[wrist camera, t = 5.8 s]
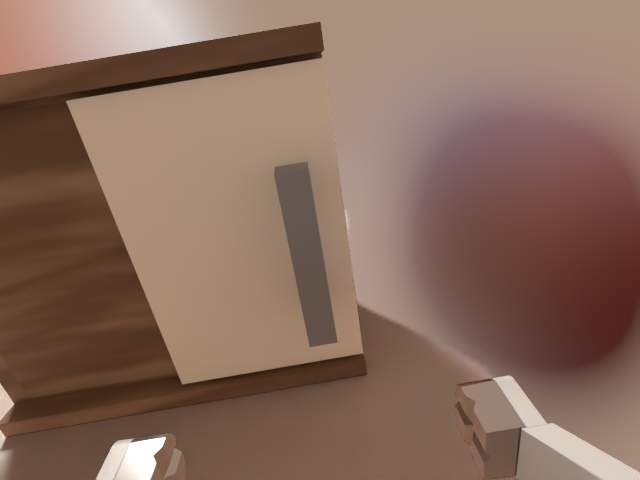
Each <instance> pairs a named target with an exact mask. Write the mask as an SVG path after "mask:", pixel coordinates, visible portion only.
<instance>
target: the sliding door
mask: <svg viewBox="0 0 640 480" xmlns="http://www.w3.org/2000/svg"><path fill="white" fill-rule="evenodd" d="M66 102H67V105H68V107H69V110H70V112H71V114H72V117H73V119H74V122H75V124H76V127H77V129H78V131H79V134H80V136H81V139H82V141H83V144H84V146H85V149H86V151H87V153H88V156H89V158H90V161H91V163H92V166H93V168H94V171H95V173H96V175H97V178H98V180H99V183H100V185H101V188H102V190H103V192H104V195H105V197H106V200H107V202H108V205H109V207H110V210H111V212H112V214H113V217H114V219H115V222H116V224H117V227H118V229H119V231H120V234H121V236H122V239H123V241H124V244H125V246H126V249H127V251H128V253H129V256H130V258H131V261H132V263H133V266H134V268H135V271H136V273H137V275H138V278H139V280H140V283H141V285H142V288H143V290H144V292H145V295H146V297H147V300H148V302H149V305H150V307H151V310H152V312H153V314H154V317H155V319H156V322H157V324H158V327H159V329H160V332H161V334H162V336H163V339H164V341H165V344H166V346H167V349H168V351H169V353H170V356H171V358H172V361H173V363H174V366H175V368H176V371H177V373H178V375H179V378H180V380H181V383H182V384H188V383H194V382H199V381H205V380H211V379H217V378H223V377H229V376H234V375H240V374H246V373H252V372H258V371H263V370H269V369H275V368H281V367H287V366H292V365H298V364H304V363H310V362H316V361H321V360H327V359H333V358H339V357H345V356H350V355H356V354H362V353H363V346H362V339H361V331H360V324H359V316H358V309H357V301H356V294H355V286H354V280H353V272H352V264H351V257H350V249H349V241H348V234H347V226H346V219H345V211H344V204H343V196H342V189H341V182H340V174H339V166H338V159H337V151H336V143H335V136H334V129H333V121H332V113H331V106H330V99H329V91H328V83H327V76H326V69H325V62H324V58H319V59H313V60H307V61H301V62H295V63H289V64H283V65H277V66H271V67H265V68H259V69H253V70H247V71H241V72H235V73H229V74H223V75H217V76H211V77H205V78H199V79H193V80H187V81H182V82H176V83H170V84H164V85H158V86H152V87H146V88H140V89H134V90H128V91H122V92H116V93H110V94H104V95H98V96H92V97H86V98H80V99H74V100H68V101H66Z"/></svg>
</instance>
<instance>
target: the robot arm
mask: <svg viewBox="0 0 640 480" xmlns="http://www.w3.org/2000/svg"><path fill="white" fill-rule="evenodd" d="M455 395H456V397H457V399H458V401H459V402H458V403H457V404H456V405H455V413H456V419H457V423H458V427H459V429H460V432H461V434H462V437H463V439H464V441H465V442H466V443H468V444H469V445H471V446H472V458H473V460H474V462H475V464H476V466H477V468H478V470H479V472H480V474H481V476H482V478H483V480H491V479H498V478H505V477H512V476H516V478H517V479H518V480H640V472H638V471H636V470H635V469H633V468H631V467H629V466H628V465H626V464H624V463H622V462H621V461H619V460H617V459H615V458H613V457H612V456H610V455H608V454H607V453H605V452H603V451H601V450H599V449H598V448H596V447H594V446H592V445H591V444H589V443H587V442H586V441H583V440H582V439H580V438H579V437H576V436H575V435H573V434H572V433H570V432H568V431H566V430H565V429H563V428H561V427H559V426H558V425H556V424H554V423H549V424H547V422H546V421H545V420H544V418H543V417H542V416H541V414H540V413H539V412H538V410H537V409H536V408H535V406H534V405H533V404H532V402H531V401H530V400H529V398H528V397H527V396H526V394H525V393H524V392H523V390H522V389H521V388H520V386H519V385H518V384H517V382H516V381H515V380H514V378H513V377H511V376H503V377H497V378H492V379H490V378H489V379H484V380H478V381H473V382H467V383H462V384H457V385H456V388H455ZM176 442H177V440H176V438H175V436H174V434H173V433H166V434H159V435H152V436H145V437H137V438H132V439H125V440H118V441H117V442H116V443H115V444H114V445H113V446H112V447H111V449H110V451H109V453H108V455H107V457H106V459H105V461H104V463H103V465H102V468H101V470H100V472H99V474H98V476H97V478H96V480H185V470H186V464H185V459H184V456H183V453H182V451H180V450H178V449H176V448H175V446H176Z"/></svg>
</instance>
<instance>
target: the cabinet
mask: <svg viewBox="0 0 640 480" xmlns="http://www.w3.org/2000/svg"><path fill="white" fill-rule="evenodd" d="M322 51H324V46H323V39H322V31H321V23H320V22H317V23H310V24H304V25H298V26H293V27H286V28H280V29H274V30H269V31H262V32H256V33H250V34H244V35H238V36H232V37H226V38H220V39H214V40H208V41H202V42H197V43H190V44H184V45H178V46H172V47H167V48H161V49H155V50H149V51H142V52H136V53H131V54H124V55H119V56H112V57H106V58H100V59H94V60H88V61H82V62H77V63H70V64H64V65H59V66H53V67H47V68H41V69H35V70H29V71H23V72H17V73H11V74H5V75H0V383H1V385H2V386H3V388H4V389H5V391H6V392H7V393H8V395H9V396H10V398H11V399H12V401H13V402H14V405H13V407H12V408H11V409H10V410H9V411H8V413H7V414H6V415H5V416H4V417H3V418H2V420H1V421H0V430H1V431H2V433H3V434H4V435H5V437H7V436H13V435H18V434H24V433H30V432H36V431H42V430H47V429H53V428H59V427H65V426H71V425H76V424H82V423H88V422H94V421H100V420H105V419H111V418H117V417H123V416H129V415H134V414H140V413H146V412H152V411H157V410H163V409H169V408H175V407H181V406H186V405H192V404H198V403H204V402H210V401H215V400H221V399H227V398H233V397H239V396H244V395H250V394H256V393H262V392H268V391H273V390H279V389H285V388H291V387H296V386H302V385H308V384H314V383H320V382H325V381H331V380H337V379H343V378H349V377H354V376H360V375H366V374H367V372H366V364H365V359H364V355H363V353H362V354H356V355H350V356H345V357H339V358H333V359H327V360H321V361H316V362H310V363H304V364H298V365H292V366H287V367H281V368H275V369H269V370H263V371H258V372H252V373H246V374H240V375H234V376H229V377H223V378H217V379H211V380H205V381H199V382H194V383H188V384H182V383H181V380H180V378H179V375H178V373H177V371H176V368H175V366H174V363H173V361H172V358H171V356H170V353H169V351H168V349H167V346H166V344H165V341H164V339H163V336H162V334H161V332H160V329H159V327H158V324H157V322H156V319H155V317H154V314H153V312H152V310H151V307H150V305H149V302H148V300H147V297H146V295H145V292H144V290H143V288H142V285H141V283H140V280H139V278H138V275H137V273H136V271H135V268H134V266H133V263H132V261H131V258H130V256H129V253H128V251H127V249H126V246H125V244H124V241H123V239H122V236H121V234H120V231H119V229H118V227H117V224H116V222H115V219H114V217H113V214H112V212H111V210H110V207H109V205H108V202H107V200H106V197H105V195H104V192H103V190H102V188H101V185H100V183H99V180H98V178H97V175H96V173H95V171H94V168H93V166H92V163H91V161H90V158H89V156H88V153H87V151H86V149H85V146H84V144H83V141H82V139H81V136H80V134H79V131H78V129H77V127H76V124H75V122H74V119H73V117H72V114H71V112H70V110H69V107H68V105H67V102H66V101H68V100H74V99H80V98H86V97H92V96H98V95H104V94H110V93H116V92H122V91H128V90H134V89H140V88H146V87H152V86H158V85H164V84H170V83H176V82H182V81H187V80H193V79H199V78H205V77H211V76H217V75H223V74H229V73H235V72H241V71H247V70H253V69H259V68H265V67H271V66H277V65H283V64H289V63H295V62H301V61H307V60H313V59H319V58H322V55H321V52H322Z"/></svg>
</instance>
